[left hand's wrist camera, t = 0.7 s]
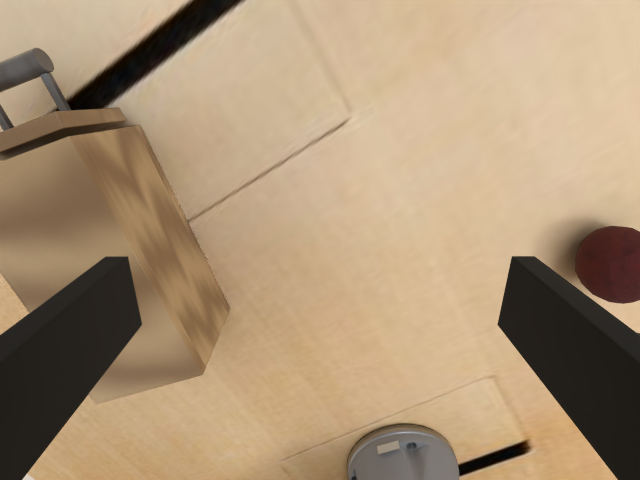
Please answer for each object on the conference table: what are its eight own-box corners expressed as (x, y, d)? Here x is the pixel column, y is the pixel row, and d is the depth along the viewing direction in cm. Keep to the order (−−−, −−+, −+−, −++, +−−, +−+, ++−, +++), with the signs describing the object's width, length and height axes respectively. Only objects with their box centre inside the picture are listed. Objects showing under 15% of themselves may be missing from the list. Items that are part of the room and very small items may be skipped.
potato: (570, 291, 42) (616, 327, 35) (550, 236, 40) (596, 264, 33) (635, 263, 41) (696, 295, 34) (620, 204, 38) (682, 226, 32)
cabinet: (43, 160, 37) (-64, 185, 27) (140, 124, 36) (68, 136, 25) (147, 333, 44) (95, 404, 34) (230, 309, 43) (202, 375, 33)
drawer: (-5, 84, 33) (-113, 81, 25) (89, 46, 32) (8, 29, 24) (134, 315, 42) (89, 369, 34) (212, 291, 41) (184, 341, 33)
